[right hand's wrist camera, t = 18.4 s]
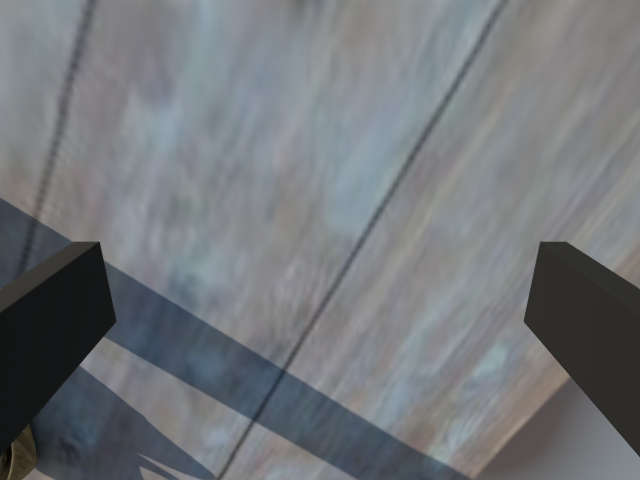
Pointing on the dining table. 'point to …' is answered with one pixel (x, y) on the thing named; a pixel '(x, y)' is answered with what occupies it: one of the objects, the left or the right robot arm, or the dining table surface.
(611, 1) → the dining table surface
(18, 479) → the brown shoe
